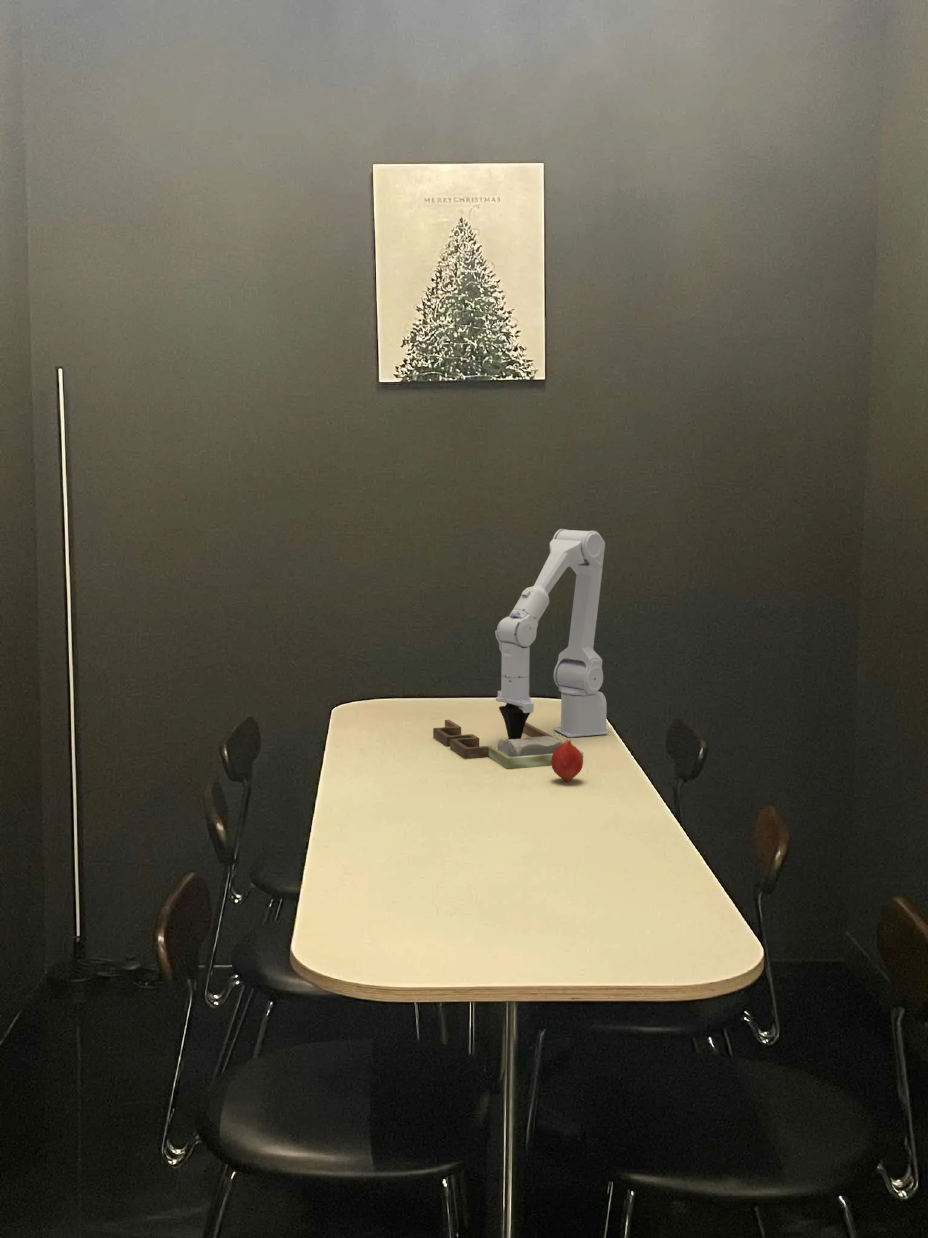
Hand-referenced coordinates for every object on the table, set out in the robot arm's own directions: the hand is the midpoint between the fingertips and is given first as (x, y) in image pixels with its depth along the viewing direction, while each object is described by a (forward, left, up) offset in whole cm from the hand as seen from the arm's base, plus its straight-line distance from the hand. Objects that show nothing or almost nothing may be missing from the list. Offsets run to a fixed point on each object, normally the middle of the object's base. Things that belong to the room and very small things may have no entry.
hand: (514, 740), depth 248 cm
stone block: (0, +7, -2) cm, 7 cm away
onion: (+1, +28, -2) cm, 28 cm away
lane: (+3, -2, -1) cm, 4 cm away
